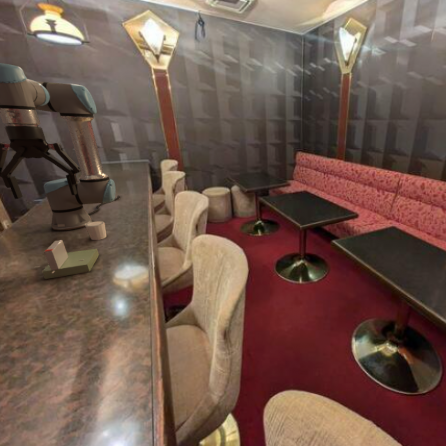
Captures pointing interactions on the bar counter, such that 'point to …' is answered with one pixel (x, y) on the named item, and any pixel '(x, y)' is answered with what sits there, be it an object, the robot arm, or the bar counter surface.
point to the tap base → (73, 264)
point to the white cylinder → (96, 230)
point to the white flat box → (56, 255)
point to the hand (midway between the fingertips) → (47, 196)
